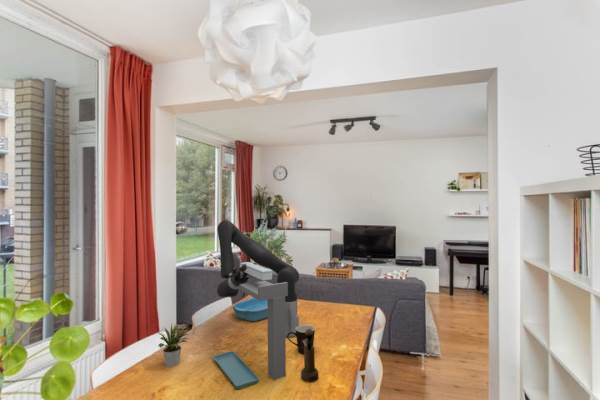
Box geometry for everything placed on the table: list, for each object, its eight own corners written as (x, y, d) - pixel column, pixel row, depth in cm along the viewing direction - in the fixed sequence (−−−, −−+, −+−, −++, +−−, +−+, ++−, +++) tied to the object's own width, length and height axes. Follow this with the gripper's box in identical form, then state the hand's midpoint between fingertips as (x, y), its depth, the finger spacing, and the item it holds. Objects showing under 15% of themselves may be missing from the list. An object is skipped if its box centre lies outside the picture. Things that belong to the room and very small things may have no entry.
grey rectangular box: (239, 270, 144) (239, 262, 144) (248, 269, 146) (248, 261, 146) (262, 280, 123) (262, 271, 123) (272, 279, 125) (272, 270, 126)
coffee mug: (317, 348, 145) (317, 326, 145) (311, 357, 136) (311, 333, 137) (293, 345, 148) (293, 323, 149) (286, 353, 140) (286, 330, 140)
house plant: (165, 378, 120) (165, 334, 121) (143, 368, 128) (143, 327, 128) (196, 362, 132) (196, 322, 133) (174, 354, 140) (174, 317, 140)
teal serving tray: (260, 384, 117) (260, 377, 117) (236, 392, 112) (236, 385, 112) (233, 356, 139) (233, 350, 139) (212, 362, 134) (212, 356, 134)
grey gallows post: (239, 361, 133) (239, 277, 134) (265, 354, 139) (265, 273, 140) (260, 384, 116) (259, 287, 116) (289, 375, 122) (288, 282, 123)
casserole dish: (267, 302, 215) (267, 292, 215) (294, 308, 202) (293, 297, 202) (225, 318, 185) (224, 306, 185) (252, 326, 172) (252, 313, 172)
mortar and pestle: (300, 373, 123) (299, 326, 124) (316, 372, 124) (316, 325, 124) (301, 382, 117) (301, 333, 117) (319, 381, 117) (319, 332, 117)
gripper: (222, 273, 149) (233, 258, 136) (250, 269, 156) (263, 255, 144) (224, 288, 145) (236, 275, 133) (253, 284, 153) (267, 271, 141)
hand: (250, 265), depth 139 cm, fingers closed on grey rectangular box, 4 cm apart
